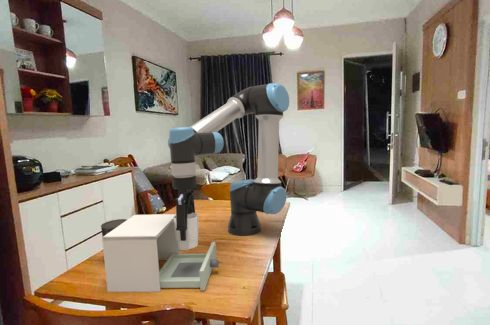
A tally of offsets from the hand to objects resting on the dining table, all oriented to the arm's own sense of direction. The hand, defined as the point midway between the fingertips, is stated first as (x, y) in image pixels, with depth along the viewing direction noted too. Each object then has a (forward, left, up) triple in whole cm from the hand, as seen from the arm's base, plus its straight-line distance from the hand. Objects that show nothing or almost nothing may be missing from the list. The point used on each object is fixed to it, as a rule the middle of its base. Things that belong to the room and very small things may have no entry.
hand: (188, 244), depth 100 cm
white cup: (0, 0, -1) cm, 1 cm away
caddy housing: (+14, 0, -10) cm, 17 cm away
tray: (0, 0, -10) cm, 10 cm away
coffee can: (+29, -11, -10) cm, 33 cm away
